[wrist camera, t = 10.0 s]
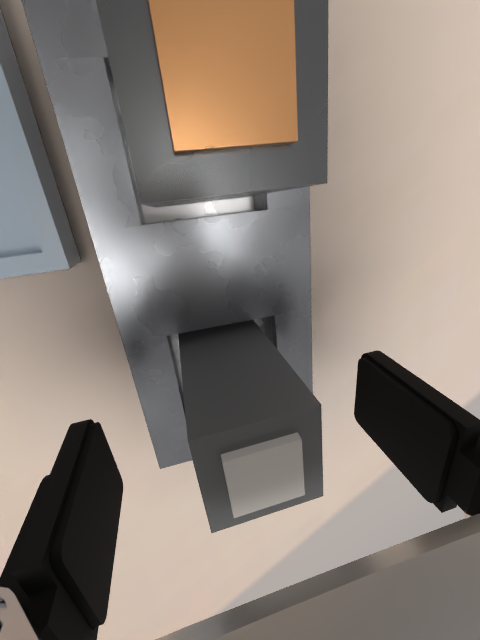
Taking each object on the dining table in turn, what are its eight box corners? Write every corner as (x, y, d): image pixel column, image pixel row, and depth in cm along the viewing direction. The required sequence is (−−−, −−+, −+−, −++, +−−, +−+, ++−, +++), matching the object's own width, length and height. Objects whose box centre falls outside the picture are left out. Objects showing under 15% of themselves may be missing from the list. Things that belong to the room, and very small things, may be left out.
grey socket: (47, 16, 11) (-395, -706, 2) (274, 16, 12) (512, -412, 4) (161, 430, 18) (155, 619, 10) (293, 397, 20) (386, 535, 11)
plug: (177, 330, 15) (188, 449, 8) (250, 315, 16) (326, 410, 8) (192, 392, 17) (213, 542, 9) (257, 376, 17) (327, 503, 10)
